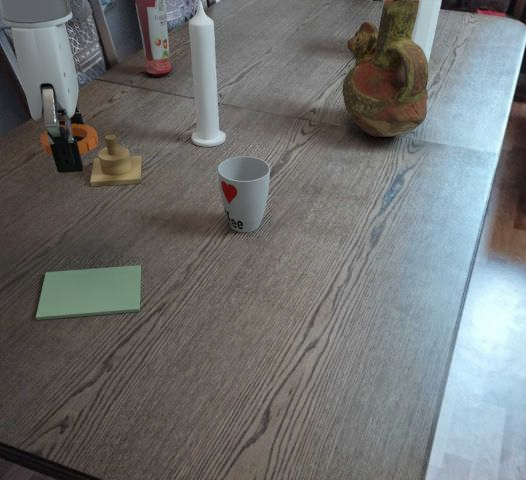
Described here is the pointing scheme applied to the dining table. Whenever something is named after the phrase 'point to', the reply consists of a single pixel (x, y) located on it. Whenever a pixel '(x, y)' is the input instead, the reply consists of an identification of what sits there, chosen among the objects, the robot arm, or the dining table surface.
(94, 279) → the mat
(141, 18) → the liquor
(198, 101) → the candle
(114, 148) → the stand
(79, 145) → the ring
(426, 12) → the container
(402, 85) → the ceramic vessel
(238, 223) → the cup
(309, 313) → the dining table surface
